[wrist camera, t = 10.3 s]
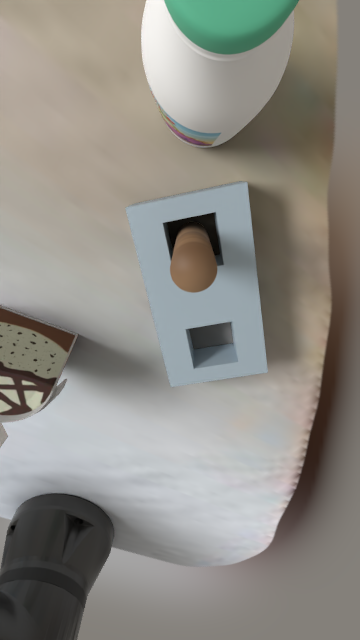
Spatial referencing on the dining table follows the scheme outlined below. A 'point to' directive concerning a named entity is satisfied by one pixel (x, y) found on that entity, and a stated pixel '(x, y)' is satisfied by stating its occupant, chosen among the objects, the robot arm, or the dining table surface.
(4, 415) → the food container
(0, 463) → the dining table surface
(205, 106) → the milk bottle
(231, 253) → the hole block
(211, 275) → the peg
